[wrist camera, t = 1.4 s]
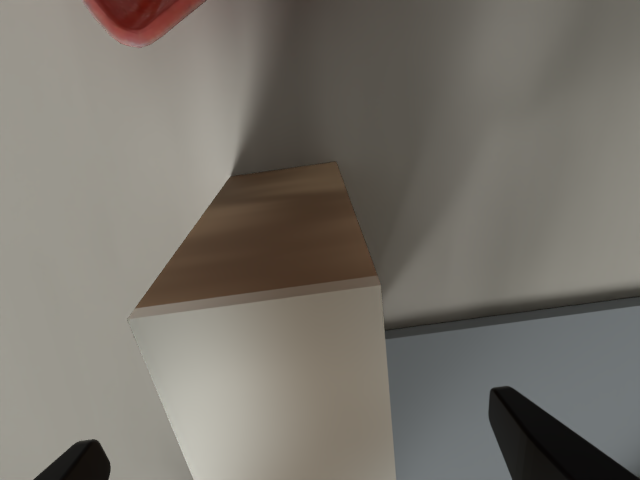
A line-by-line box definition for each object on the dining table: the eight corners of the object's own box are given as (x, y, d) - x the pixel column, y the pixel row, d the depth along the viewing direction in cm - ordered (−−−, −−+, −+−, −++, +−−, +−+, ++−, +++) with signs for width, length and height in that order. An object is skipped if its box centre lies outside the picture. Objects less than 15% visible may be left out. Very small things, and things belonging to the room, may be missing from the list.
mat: (341, 502, 22) (342, 513, 22) (313, 340, 17) (313, 349, 17) (684, 459, 22) (694, 469, 21) (753, 281, 17) (769, 288, 16)
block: (270, 344, 17) (239, 589, 9) (230, 176, 14) (127, 319, 6) (356, 333, 17) (403, 569, 9) (336, 161, 14) (380, 284, 6)
